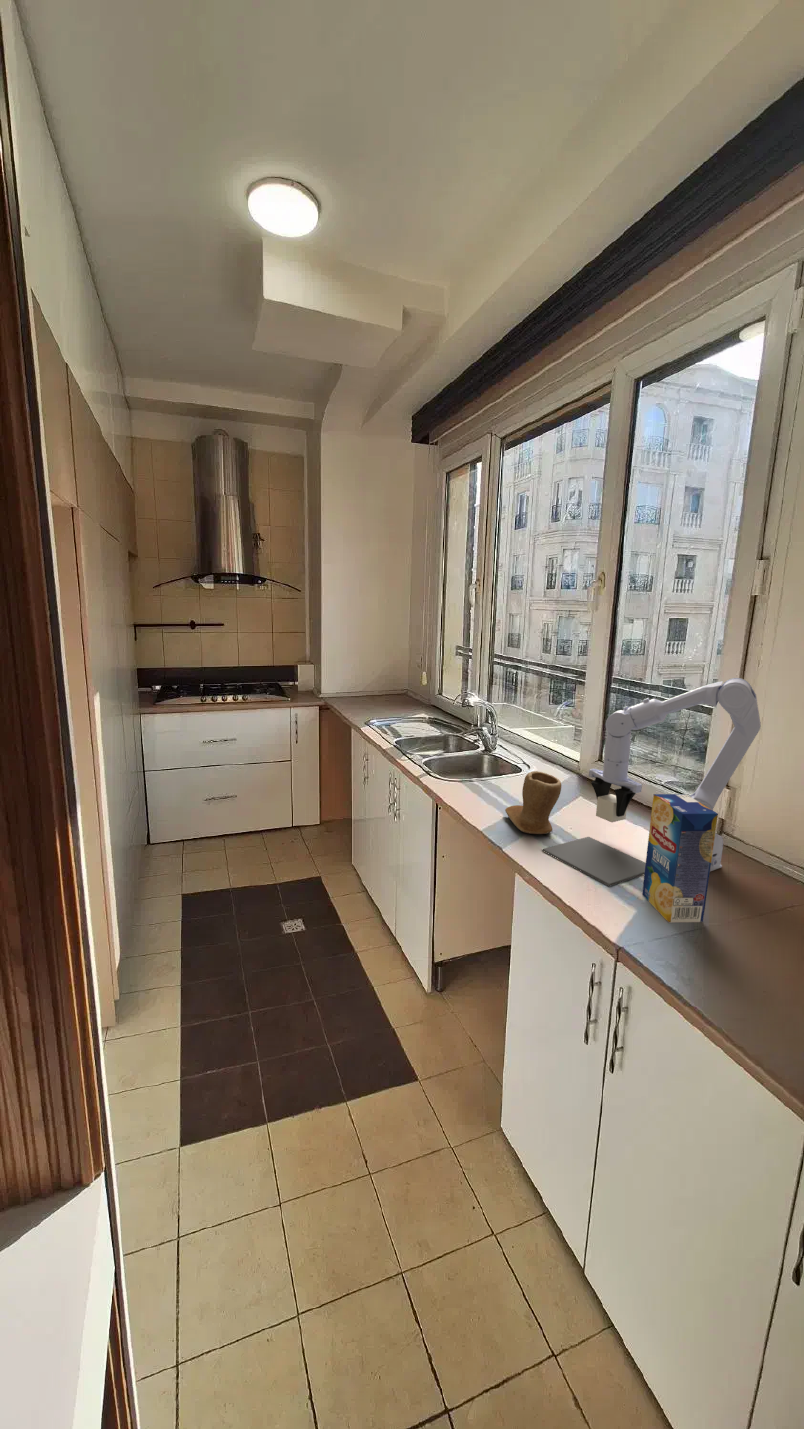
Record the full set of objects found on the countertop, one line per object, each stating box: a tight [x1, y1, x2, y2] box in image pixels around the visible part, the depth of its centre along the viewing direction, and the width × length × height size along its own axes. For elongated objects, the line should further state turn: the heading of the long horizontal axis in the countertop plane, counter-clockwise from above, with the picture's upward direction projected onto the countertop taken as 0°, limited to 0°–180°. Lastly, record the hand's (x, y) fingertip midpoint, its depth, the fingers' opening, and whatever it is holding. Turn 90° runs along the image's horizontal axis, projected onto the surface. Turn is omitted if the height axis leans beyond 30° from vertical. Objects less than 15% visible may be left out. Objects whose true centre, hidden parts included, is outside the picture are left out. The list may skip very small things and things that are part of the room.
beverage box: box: [641, 793, 719, 924], centre depth 116 cm, size 7×11×22 cm, turn 4°
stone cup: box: [504, 770, 562, 835], centre depth 156 cm, size 15×12×15 cm
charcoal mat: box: [542, 836, 646, 887], centre depth 138 cm, size 20×16×1 cm
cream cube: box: [595, 793, 628, 823], centre depth 146 cm, size 5×5×5 cm
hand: (611, 811), depth 146 cm, fingers closed on cream cube, 5 cm apart
